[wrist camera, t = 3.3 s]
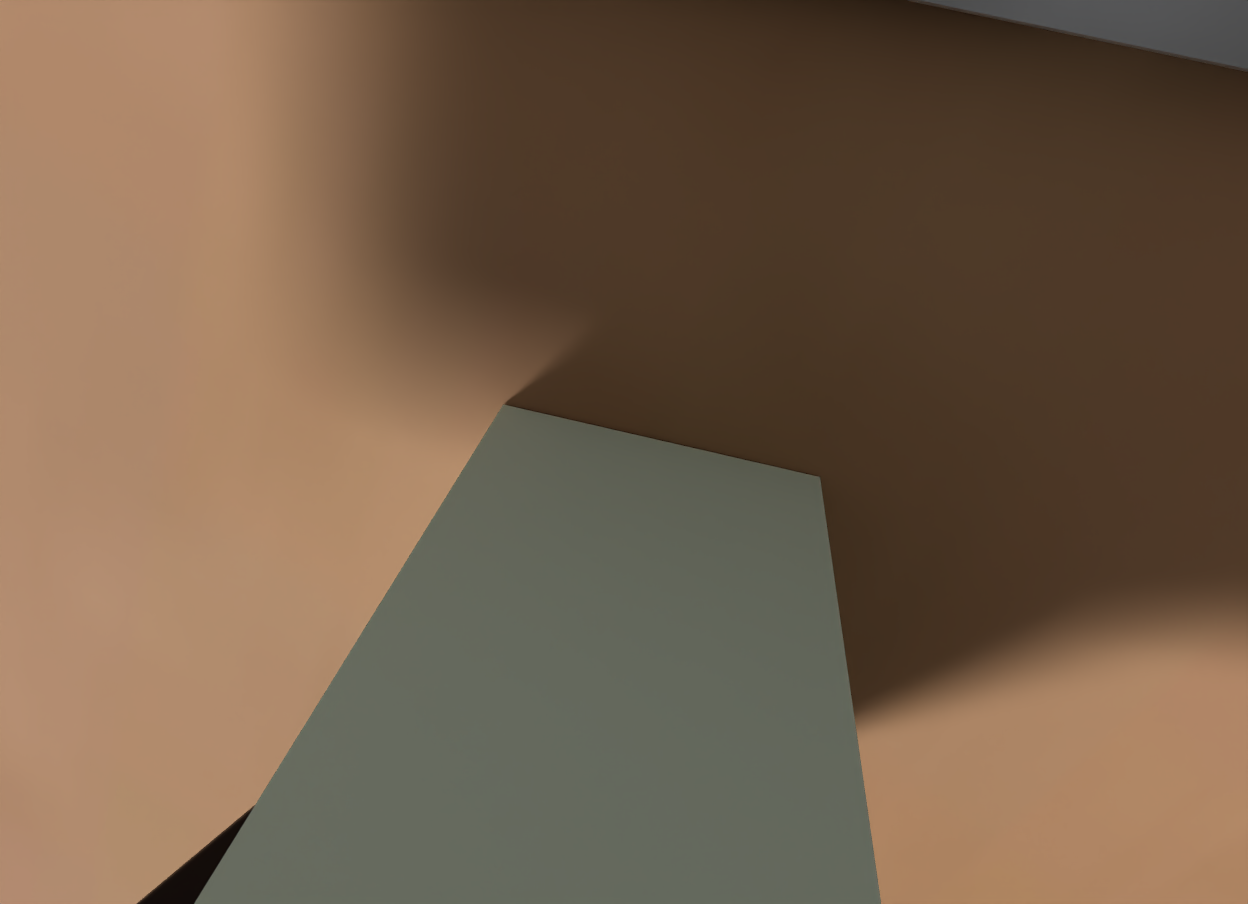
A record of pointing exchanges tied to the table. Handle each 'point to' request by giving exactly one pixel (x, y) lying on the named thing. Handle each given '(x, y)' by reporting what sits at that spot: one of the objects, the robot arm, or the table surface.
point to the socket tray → (1133, 24)
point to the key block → (583, 698)
